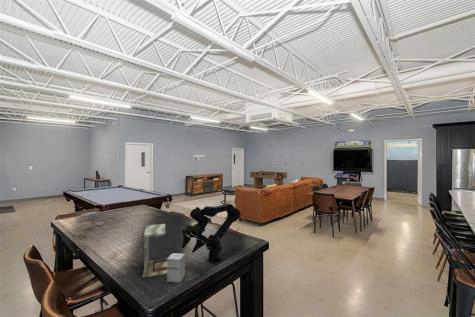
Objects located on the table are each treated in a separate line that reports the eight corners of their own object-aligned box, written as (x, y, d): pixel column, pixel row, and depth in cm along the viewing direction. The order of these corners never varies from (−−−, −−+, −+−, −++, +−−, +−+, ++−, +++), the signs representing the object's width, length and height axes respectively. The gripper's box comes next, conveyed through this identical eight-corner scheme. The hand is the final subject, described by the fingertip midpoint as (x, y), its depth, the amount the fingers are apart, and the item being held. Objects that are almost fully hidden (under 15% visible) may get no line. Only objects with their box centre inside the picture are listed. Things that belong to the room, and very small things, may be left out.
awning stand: (176, 258, 147) (175, 222, 147) (177, 272, 130) (177, 232, 130) (145, 262, 142) (145, 225, 141) (142, 277, 125) (142, 235, 124)
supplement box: (166, 282, 120) (166, 258, 120) (172, 274, 128) (172, 252, 127) (179, 283, 119) (179, 259, 119) (185, 275, 126) (185, 253, 126)
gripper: (183, 216, 138) (168, 240, 130) (204, 221, 126) (189, 248, 118) (194, 224, 145) (180, 248, 137) (214, 231, 133) (201, 257, 125)
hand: (187, 250), depth 129 cm, fingers open, 9 cm apart
